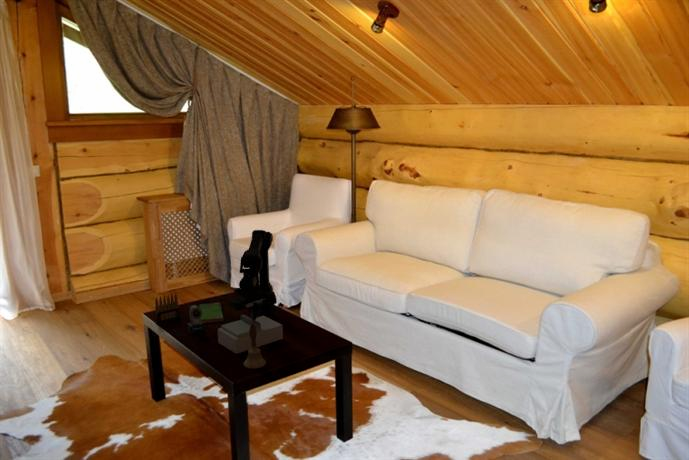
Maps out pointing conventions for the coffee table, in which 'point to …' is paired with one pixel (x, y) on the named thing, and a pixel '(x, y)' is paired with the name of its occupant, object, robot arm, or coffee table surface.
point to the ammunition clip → (166, 309)
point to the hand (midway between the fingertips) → (253, 320)
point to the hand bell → (254, 352)
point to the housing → (237, 345)
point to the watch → (195, 320)
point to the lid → (241, 326)
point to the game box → (211, 312)
